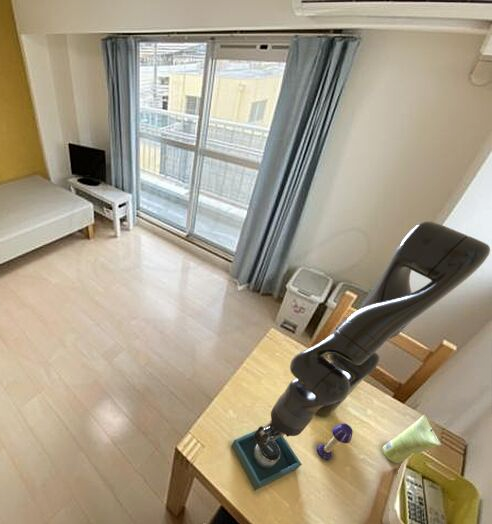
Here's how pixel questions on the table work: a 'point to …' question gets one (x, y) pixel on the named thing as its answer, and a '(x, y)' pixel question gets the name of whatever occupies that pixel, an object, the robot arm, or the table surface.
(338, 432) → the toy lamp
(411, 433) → the tube
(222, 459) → the table surface
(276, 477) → the crate
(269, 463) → the camera lens
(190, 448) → the table surface
